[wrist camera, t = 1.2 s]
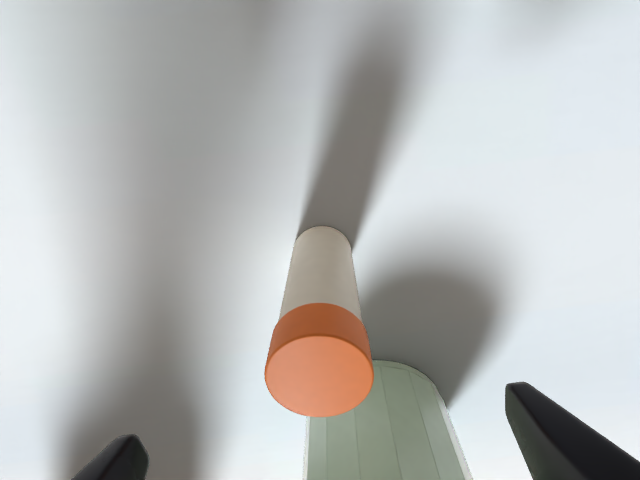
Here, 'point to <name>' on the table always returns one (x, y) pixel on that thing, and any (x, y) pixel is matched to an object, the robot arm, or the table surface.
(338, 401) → the glue stick
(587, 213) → the table surface
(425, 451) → the pen holder
